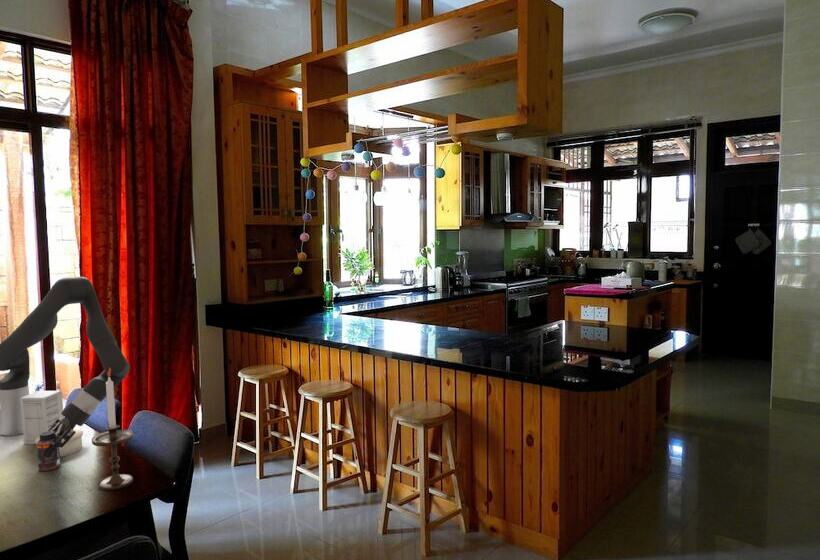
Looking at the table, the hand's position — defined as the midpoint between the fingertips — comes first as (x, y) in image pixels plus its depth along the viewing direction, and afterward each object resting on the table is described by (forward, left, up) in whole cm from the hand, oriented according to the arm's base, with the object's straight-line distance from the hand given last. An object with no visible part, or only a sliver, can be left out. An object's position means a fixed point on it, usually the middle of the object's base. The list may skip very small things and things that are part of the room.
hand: (42, 453), depth 181 cm
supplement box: (-14, +28, -5) cm, 32 cm away
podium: (-3, +16, -5) cm, 17 cm away
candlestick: (+27, -14, -5) cm, 31 cm away
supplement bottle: (+1, +1, -5) cm, 6 cm away
